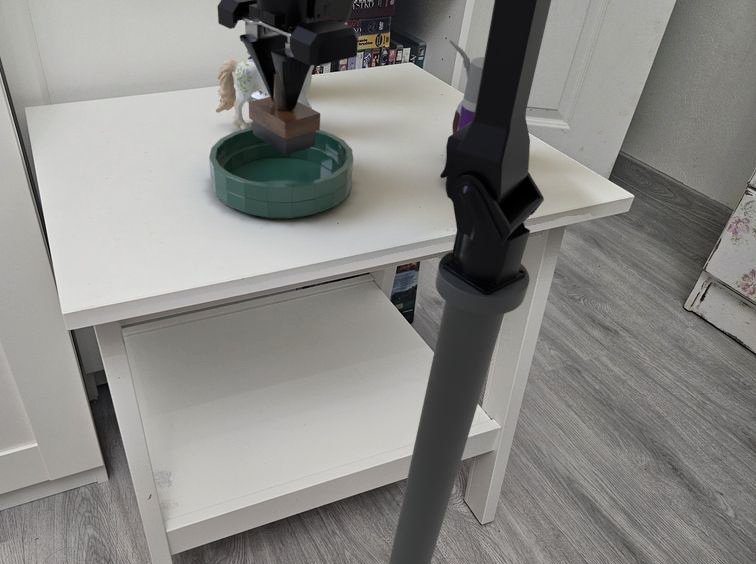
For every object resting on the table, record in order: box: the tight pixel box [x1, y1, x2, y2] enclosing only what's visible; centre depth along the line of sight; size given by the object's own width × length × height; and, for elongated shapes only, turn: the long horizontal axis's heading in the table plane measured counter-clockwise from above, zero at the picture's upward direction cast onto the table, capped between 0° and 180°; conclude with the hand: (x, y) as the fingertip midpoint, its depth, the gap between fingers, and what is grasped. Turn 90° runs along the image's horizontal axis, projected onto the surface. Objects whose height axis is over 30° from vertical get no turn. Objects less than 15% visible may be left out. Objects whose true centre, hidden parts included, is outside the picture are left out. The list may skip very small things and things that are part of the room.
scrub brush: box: [248, 70, 321, 155], centre depth 75 cm, size 8×5×8 cm, turn 36°
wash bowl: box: [208, 126, 354, 219], centre depth 80 cm, size 18×18×4 cm
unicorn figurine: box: [215, 22, 348, 130], centre depth 91 cm, size 7×20×13 cm, turn 99°
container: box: [457, 56, 485, 131], centre depth 77 cm, size 5×5×15 cm
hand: (283, 105), depth 74 cm, fingers closed on scrub brush, 2 cm apart
